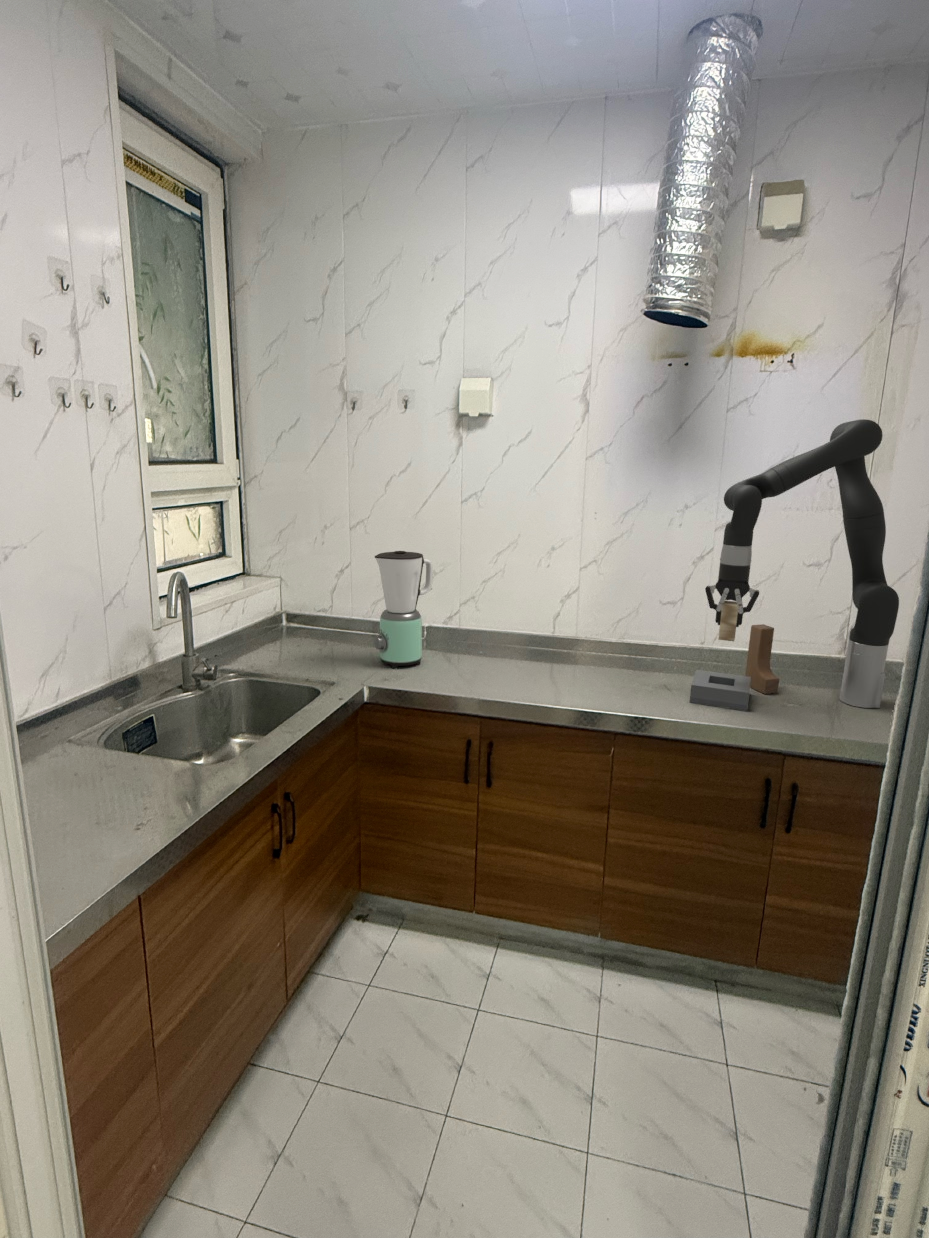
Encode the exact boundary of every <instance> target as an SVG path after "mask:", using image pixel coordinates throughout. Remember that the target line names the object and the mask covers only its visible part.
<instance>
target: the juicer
mask: <svg viewBox="0 0 929 1238" xmlns="http://www.w3.org/2000/svg"><path fill="white" fill-rule="evenodd" d="M374 559H375V560H376V562H377V564H378V567H379V573H380V580H381V585H382V591H383V592H382V593H383V599H384V604H385V609H384V610H383V611H382V612H381V613H380V618H379V633H378V635H377V636H375V637H374V638H373V639H374V640H373V641H374V642H373V643H374V646H375V649H376V650H379V659H380V661H381V662H382V663H384V664H385V665H389V666H391V669H393V668H397V669H399V667H401V666H403V667H404V666H405V667H406V666H411V665H415V666H420V665H421V661H422V658H423V644H422V643H423V629H422V628H423V622H422V621H423V619H422V616H421V614H420V611H419V610H418V609H417V605H418V600H419V597H420V596H424V595H426V594H427V593H429V592H430V590H432V589H431V588H432V585H433V564H432V561H431V560H430V559H428V558H424V555H423V553H421V552H414V551H406V550H405V551H404V550H395V551H387V552H380V553H378V554H376V555H374ZM424 564H425V584H424V587H423V588H421V581H422V574H423V567H424Z"/></svg>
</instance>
